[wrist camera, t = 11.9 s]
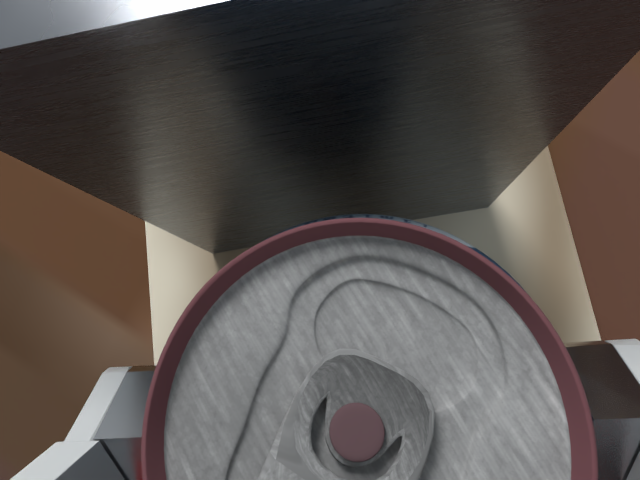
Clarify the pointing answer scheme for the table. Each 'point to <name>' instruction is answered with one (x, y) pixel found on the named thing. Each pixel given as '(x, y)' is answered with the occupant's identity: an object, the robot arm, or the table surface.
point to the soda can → (365, 366)
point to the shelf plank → (470, 226)
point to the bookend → (298, 102)
